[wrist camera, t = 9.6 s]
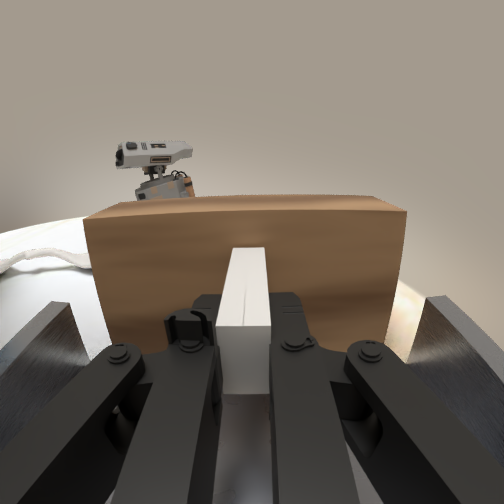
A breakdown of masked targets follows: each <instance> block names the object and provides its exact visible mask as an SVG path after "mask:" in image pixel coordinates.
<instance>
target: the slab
mask: <svg viewBox="0 0 504 504" xmlns="http://www.w3.org/2000/svg"><path fill="white" fill-rule="evenodd" d="M406 217H407V211H405V210H403V209H401V208H398V207H396V206H394V205H392V204H389V203H387V202H385V201H382V200H380V199H377V198H375V197H373V196H356V195H235V196H211V197H210V196H208V197H188V198H171V199H157V200H143V201H133V202H132V201H131V202H121V203H118V204H116V205H113V206H111V207H109V208H107V209H105V210H102V211H100V212H98V213H95V214H93V215H91V216H89V217H87V218H85V219H83V225H84V231H85V237H86V243H87V248H88V254H89V259H90V263H91V268H92V273H93V277H94V281H95V285H96V289H97V293H98V297H99V301H100V305H101V308H102V312H103V316H104V319H105V322H106V326H107V329H108V332H109V335H110V338H111V341H112V345H113V344H116V343H123V342H125V343H132V344H134V345H136V346H138V348H139V349H140V350H141V353H142V355H143V354H150V353H157V352H161V351H164V350H166V349H167V347H168V339H167V334H166V330H165V325H164V319H165V317H166V316H167V315H169V314H170V313H172V312H174V311H177V310H180V309H186V308H192V305H193V303H194V300H196V299H197V298H198V297H199V296H200V295H202V294H223V290H224V285H225V281H226V276H227V272H228V267H229V263H230V259H231V254H232V250H233V248H259V247H264V250H265V261H266V272H267V284H268V293H272V292H293V293H295V294H296V295H297V296H298V297H299V298H300V300H301V303H302V307H303V310H304V314H305V318H306V321H307V325H308V328H309V332H310V335H311V336H313V337H314V338H315V339H316V340H317V342H318V344H319V346H321V347H323V348H325V349H328V350H333V351H340V352H347V349H348V347H349V346H350V345H351V344H353V343H355V342H357V341H361V340H373V341H377V342H380V343H383V344H384V340H385V336H386V332H387V328H388V324H389V320H390V316H391V311H392V307H393V302H394V297H395V292H396V287H397V281H398V276H399V270H400V263H401V257H402V251H403V243H404V235H405V227H406Z"/></svg>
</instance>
